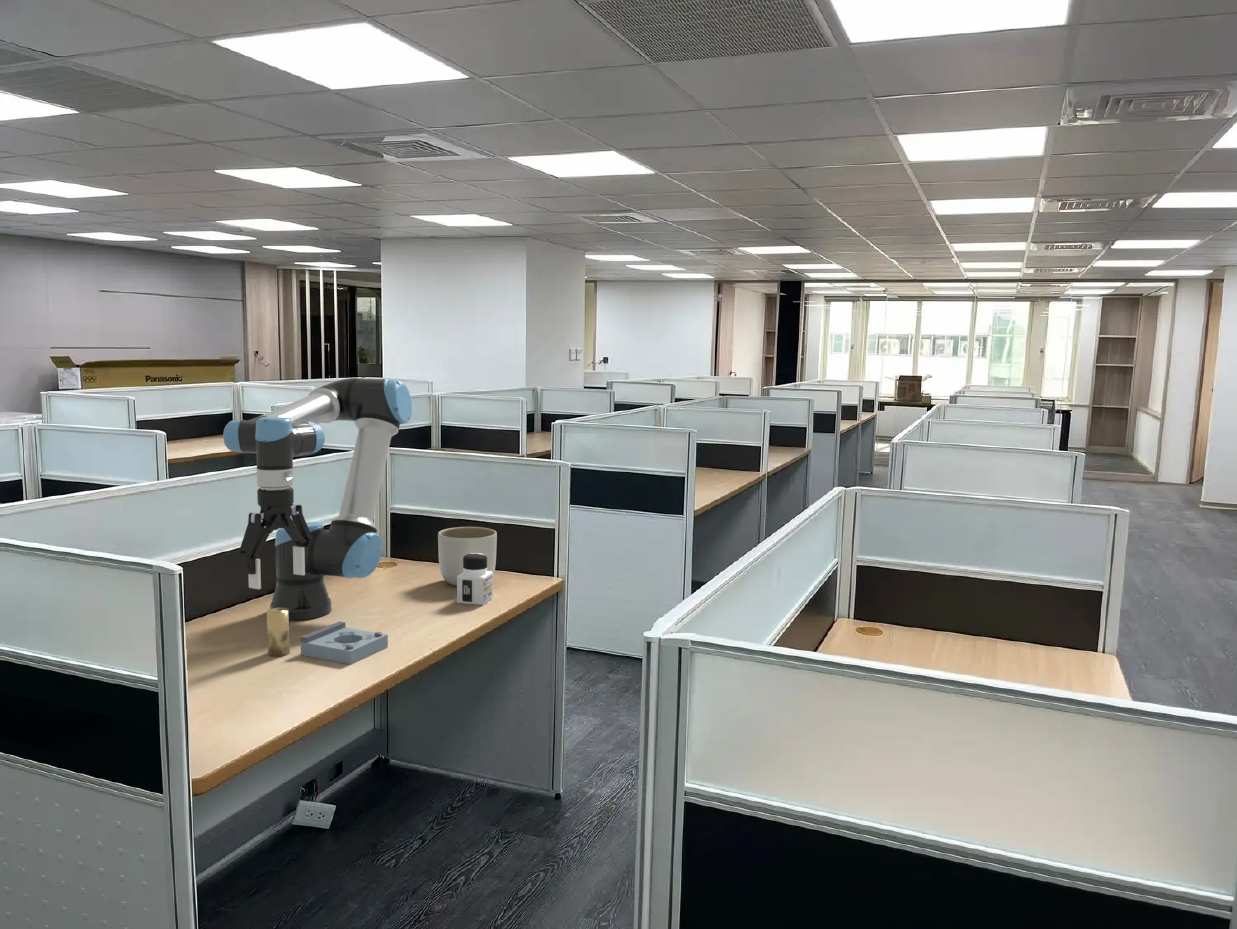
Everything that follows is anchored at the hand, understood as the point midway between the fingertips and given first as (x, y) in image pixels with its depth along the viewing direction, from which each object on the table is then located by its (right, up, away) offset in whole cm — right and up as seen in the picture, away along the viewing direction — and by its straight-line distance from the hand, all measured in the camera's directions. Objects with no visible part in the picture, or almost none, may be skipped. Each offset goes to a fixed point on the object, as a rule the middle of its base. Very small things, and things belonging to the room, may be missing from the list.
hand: (277, 581), depth 206 cm
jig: (+14, -17, +5) cm, 22 cm away
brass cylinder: (-1, -17, +2) cm, 17 cm away
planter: (+32, -9, +66) cm, 74 cm away
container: (+37, -12, +48) cm, 61 cm away
